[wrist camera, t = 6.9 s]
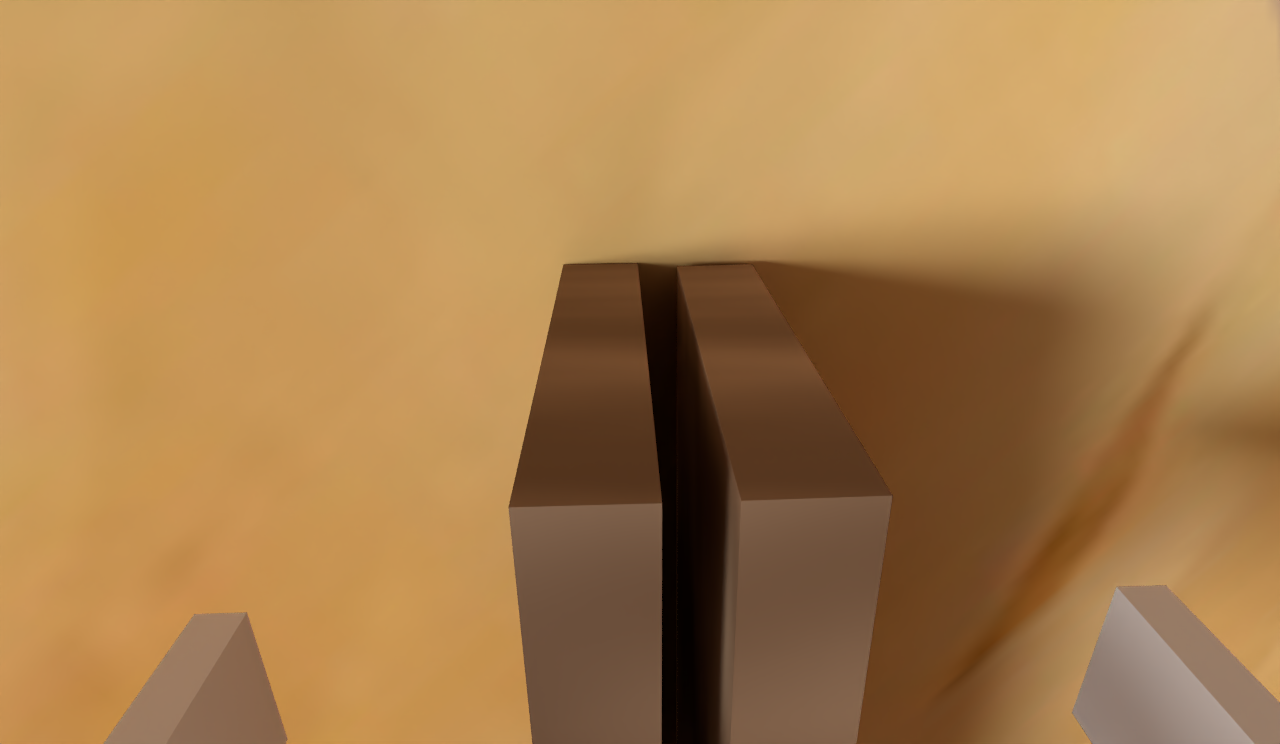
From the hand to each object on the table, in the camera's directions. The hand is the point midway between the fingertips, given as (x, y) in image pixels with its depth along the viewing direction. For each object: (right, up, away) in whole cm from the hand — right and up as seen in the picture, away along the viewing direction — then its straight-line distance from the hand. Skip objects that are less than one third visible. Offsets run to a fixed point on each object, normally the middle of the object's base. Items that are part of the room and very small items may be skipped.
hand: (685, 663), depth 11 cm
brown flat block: (-1, -2, +8) cm, 9 cm away
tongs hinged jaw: (+1, -2, +8) cm, 8 cm away
